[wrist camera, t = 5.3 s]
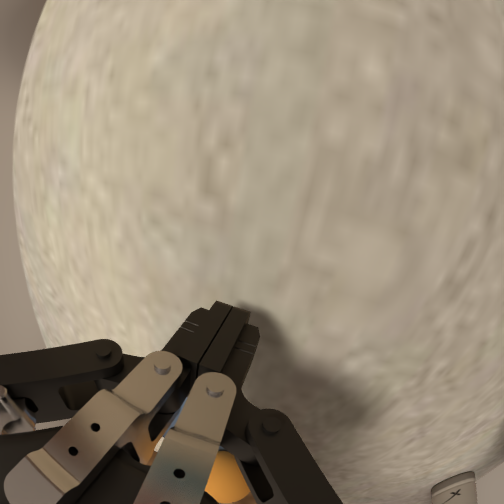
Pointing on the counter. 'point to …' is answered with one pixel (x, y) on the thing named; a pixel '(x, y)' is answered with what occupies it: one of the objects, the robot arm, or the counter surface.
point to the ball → (226, 479)
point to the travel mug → (456, 490)
